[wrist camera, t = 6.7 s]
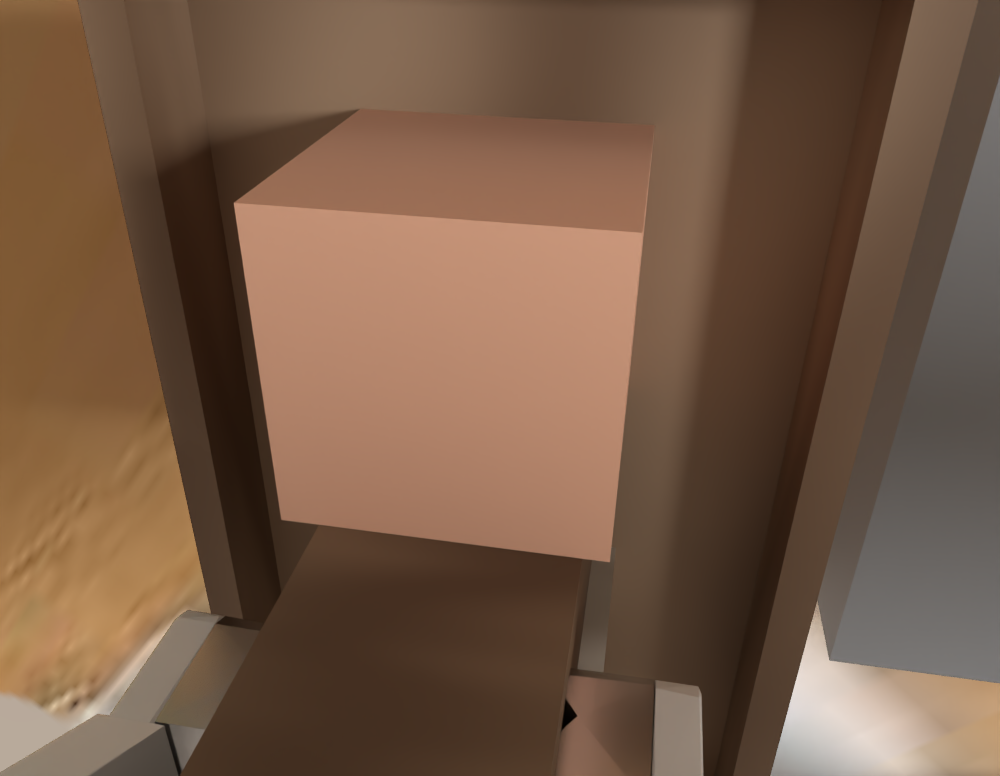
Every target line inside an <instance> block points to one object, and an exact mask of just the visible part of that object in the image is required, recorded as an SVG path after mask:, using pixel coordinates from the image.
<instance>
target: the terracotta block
mask: <svg viewBox="0 0 1000 776" xmlns="http://www.w3.org/2000/svg"><path fill="white" fill-rule="evenodd" d="M654 126H655V125H644V124H626V123H608V122H590V121H572V120H554V119H535V118H517V117H499V116H481V115H463V114H445V113H427V112H409V111H391V110H373V109H360V110H358V111H357V112H356V113H354V114H353V115H352V116H350V117H349V118H348V119H346V120H345V121H343V122H342V123H341V124H339V125H338V126H337V127H335V128H334V129H333V130H331V131H330V132H329V133H327V134H326V135H325V136H323V137H322V138H321V139H319V140H318V141H316V142H315V143H314V144H312V145H311V146H310V147H308V148H307V149H306V150H304V151H303V152H302V153H300V154H299V155H298V156H296V157H295V158H294V159H292V160H291V161H289V162H288V163H287V164H285V165H284V166H283V167H281V168H280V169H279V170H277V171H276V172H275V173H273V174H272V175H271V176H269V177H268V178H267V179H265V180H264V181H263V182H261V183H260V184H258V185H257V186H256V187H254V188H253V189H252V190H250V191H249V192H248V193H246V194H245V195H244V196H242V197H241V198H240V199H238V200H237V201H236V202H234V208H235V215H236V222H237V228H238V235H239V242H240V248H241V255H242V261H243V268H244V275H245V281H246V288H247V295H248V301H249V308H250V315H251V321H252V328H253V335H254V341H255V348H256V355H257V361H258V368H259V375H260V381H261V388H262V395H263V401H264V408H265V415H266V421H267V428H268V434H269V441H270V448H271V454H272V461H273V468H274V474H275V481H276V488H277V494H278V501H279V508H280V514H281V520H287V521H294V522H302V523H310V524H318V525H325V526H333V527H341V528H349V529H356V530H364V531H372V532H380V533H387V534H395V535H403V536H411V537H418V538H426V539H434V540H441V541H449V542H457V543H465V544H472V545H480V546H488V547H496V548H503V549H511V550H519V551H527V552H534V553H542V554H550V555H558V556H565V557H573V558H581V559H589V560H596V561H604V562H610V555H611V546H612V537H613V527H614V518H615V508H616V499H617V490H618V480H619V471H620V461H621V452H622V442H623V433H624V424H625V414H626V405H627V395H628V386H629V376H630V366H631V356H632V346H633V336H634V326H635V316H636V306H637V296H638V286H639V276H640V266H641V256H642V246H643V236H644V226H645V216H646V206H647V196H648V186H649V176H650V166H651V156H652V146H653V136H654Z"/></svg>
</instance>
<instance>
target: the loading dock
mask: <svg viewBox="0 0 1000 776" xmlns="http://www.w3.org/2000/svg"><path fill="white" fill-rule="evenodd" d="M817 600H818V605H819V610H820V615H821V620H822V625H823V630H824V635H825V640H826V645H827V650H828V655H829V660H830V661H838V662H845V663H853V664H860V665H867V666H875V667H882V668H890V669H897V670H905V671H912V672H920V673H927V674H935V675H942V676H949V677H957V678H964V679H972V680H979V681H987V682H994V683H1000V0H978V4H977V7H976V11H975V15H974V19H973V22H972V26H971V30H970V34H969V37H968V41H967V45H966V48H965V52H964V56H963V60H962V63H961V67H960V71H959V74H958V78H957V82H956V86H955V89H954V93H953V97H952V101H951V104H950V108H949V112H948V115H947V119H946V123H945V127H944V130H943V134H942V138H941V141H940V145H939V149H938V153H937V156H936V160H935V164H934V168H933V171H932V175H931V179H930V182H929V186H928V190H927V194H926V197H925V201H924V205H923V208H922V212H921V216H920V220H919V223H918V227H917V231H916V235H915V238H914V242H913V246H912V249H911V253H910V257H909V261H908V264H907V268H906V272H905V275H904V279H903V283H902V287H901V290H900V294H899V298H898V302H897V305H896V309H895V313H894V316H893V320H892V324H891V328H890V331H889V335H888V339H887V342H886V346H885V350H884V354H883V357H882V361H881V365H880V368H879V372H878V376H877V380H876V383H875V387H874V391H873V395H872V398H871V402H870V406H869V409H868V413H867V417H866V421H865V424H864V428H863V432H862V435H861V439H860V443H859V447H858V450H857V454H856V458H855V462H854V465H853V469H852V473H851V476H850V480H849V484H848V488H847V491H846V495H845V499H844V502H843V506H842V510H841V514H840V517H839V521H838V525H837V529H836V532H835V536H834V540H833V543H832V547H831V551H830V555H829V558H828V562H827V566H826V569H825V573H824V577H823V581H822V584H821V588H820V592H819V596H818V599H817Z"/></svg>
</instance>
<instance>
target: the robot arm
mask: <svg viewBox="0 0 1000 776" xmlns="http://www.w3.org/2000/svg"><path fill="white" fill-rule="evenodd" d="M263 625H264V623H263V622H257V621H251V620H246V619H240V618H234V617H229V616H221V615H215V614H209V613H203V612H197V611H191V610H187V611H186V612H184V613H183V614H181V615H180V616H179V617H177V618H176V619H175V620H174V622H173V623H172V625H171V626H170V628H169V629H168V630H167V632H166V633H165V635H164V636H163V638H162V639H161V641H160V642H159V644H158V645H157V647H156V648H155V649H154V651H153V652H152V654H151V655H150V657H149V658H148V660H147V661H146V663H145V664H144V666H143V667H142V668H141V670H140V671H139V673H138V674H137V676H136V677H135V679H134V680H133V682H132V683H131V685H130V686H129V687H128V689H127V690H126V692H125V693H124V695H123V696H122V698H121V699H120V701H119V702H118V704H117V705H116V706H115V708H114V709H113V711H112V712H111V714H110V715H109V716H108V715H101V714H97V715H95V716H94V717H92V718H90V719H89V720H87V721H85V722H84V723H82V724H80V725H79V726H77V727H75V728H74V729H72V730H70V731H69V732H67V733H65V734H64V735H62V736H60V737H59V738H57V739H55V740H54V741H52V742H50V743H49V744H47V745H45V746H44V747H42V748H40V749H39V750H37V751H35V752H34V753H32V754H30V755H29V756H27V757H25V758H24V759H22V760H20V761H19V762H17V763H15V764H14V765H12V766H10V767H8V768H7V769H5V770H4V771H2V772H0V776H180V774H181V773H182V771H183V769H184V767H185V765H186V764H187V762H188V760H189V758H190V756H191V755H192V753H193V751H194V749H195V747H196V746H197V744H198V742H199V740H200V738H201V737H202V735H203V733H204V731H205V729H206V728H207V726H208V724H209V722H210V720H211V719H212V717H213V715H214V713H215V711H216V710H217V708H218V706H219V704H220V702H221V701H222V699H223V697H224V695H225V693H226V692H227V690H228V688H229V686H230V684H231V683H232V681H233V679H234V677H235V675H236V674H237V672H238V670H239V668H240V666H241V665H242V663H243V661H244V659H245V657H246V656H247V654H248V652H249V650H250V648H251V647H252V645H253V643H254V641H255V639H256V638H257V636H258V634H259V632H260V630H261V629H262V627H263ZM554 776H703V737H702V695H701V692H700V690H699V687H698V686H692V685H685V684H679V683H672V682H665V681H658V680H655V682H654V681H653V679H648V678H641V677H633V676H626V675H619V674H611V673H604V672H596V671H589V670H582V669H574V668H570V672H569V677H568V684H567V691H566V698H565V712H564V725H563V730H562V731H561V733H560V740H559V747H558V754H557V761H556V768H555V775H554Z"/></svg>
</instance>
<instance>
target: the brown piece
mask: <svg viewBox="0 0 1000 776" xmlns="http://www.w3.org/2000/svg"><path fill="white" fill-rule="evenodd" d="M78 4H79V9H80V13H81V18H82V23H83V27H84V32H85V36H86V41H87V45H88V50H89V55H90V59H91V64H92V68H93V73H94V78H95V82H96V87H97V91H98V96H99V101H100V105H101V110H102V114H103V119H104V124H105V128H106V133H107V137H108V142H109V146H110V151H111V156H112V160H113V165H114V169H115V174H116V179H117V183H118V188H119V192H120V197H121V202H122V206H123V211H124V215H125V220H126V224H127V229H128V234H129V238H130V243H131V247H132V252H133V257H134V261H135V266H136V270H137V275H138V280H139V284H140V289H141V293H142V298H143V303H144V307H145V312H146V316H147V321H148V325H149V330H150V335H151V339H152V344H153V348H154V353H155V358H156V362H157V367H158V371H159V376H160V381H161V385H162V390H163V394H164V399H165V404H166V408H167V413H168V417H169V422H170V426H171V431H172V436H173V440H174V445H175V449H176V454H177V459H178V463H179V468H180V472H181V477H182V482H183V486H184V491H185V495H186V500H187V504H188V509H189V514H190V518H191V523H192V527H193V532H194V537H195V541H196V546H197V550H198V555H199V560H200V564H201V569H202V573H203V578H204V583H205V587H206V592H207V596H208V601H209V605H210V610H211V614H215V615H221V616H229V617H234V618H240V619H246V620H251V621H257V622H263V623H264V625H263V627H262V629H261V630H260V632H259V634H258V636H257V638H256V639H255V641H254V643H253V645H252V647H251V648H250V650H249V652H248V654H247V656H246V657H245V659H244V661H243V663H242V665H241V666H240V668H239V670H238V672H237V674H236V675H235V677H234V679H233V681H232V683H231V684H230V686H229V688H228V690H227V692H226V693H225V695H224V697H223V699H222V701H221V702H220V704H219V706H218V708H217V710H216V711H215V713H214V715H213V717H212V719H211V720H210V722H209V724H208V726H207V728H206V729H205V731H204V733H203V735H202V737H201V738H200V740H199V742H198V744H197V746H196V747H195V749H194V751H193V753H192V755H191V756H190V758H189V760H188V762H187V764H186V765H185V767H184V769H183V771H182V773H181V774H180V776H554V775H555V768H556V761H557V754H558V747H559V740H560V733H561V731H562V730H563V725H564V712H565V698H566V691H567V684H568V677H569V672H570V668H574V669H578V661H579V654H580V646H581V639H582V631H583V623H584V616H585V608H586V601H587V593H588V586H589V578H590V571H591V563H592V560H589V559H581V558H573V557H565V556H558V555H550V554H542V553H534V552H527V551H519V550H511V549H503V548H496V547H488V546H480V545H472V544H465V543H457V542H449V541H441V540H434V539H426V538H418V537H411V536H403V535H395V534H387V533H380V532H372V531H364V530H356V529H349V528H341V527H333V526H325V525H318V524H310V523H302V522H294V521H287V520H281V514H280V508H279V501H278V494H277V488H276V481H275V474H274V468H273V461H272V454H271V448H270V441H269V434H268V428H267V421H266V415H265V408H264V401H263V395H262V388H261V381H260V375H259V368H258V361H257V355H256V348H255V341H254V335H253V328H252V321H251V315H250V308H249V301H248V295H247V288H246V281H245V275H244V268H243V261H242V255H241V248H240V242H239V235H238V228H237V222H236V215H235V208H234V202H236V201H237V200H238V199H240V198H241V197H242V196H244V195H245V194H246V193H248V192H249V191H250V190H252V189H253V188H254V187H256V186H257V185H258V184H260V183H261V182H263V181H264V180H265V179H267V178H268V177H269V176H271V175H272V174H273V173H275V172H276V171H277V170H279V169H280V168H281V167H283V166H284V165H285V164H287V163H288V162H289V161H291V160H292V159H294V158H295V157H296V156H298V155H299V154H300V153H302V152H303V151H304V150H306V149H307V148H308V147H310V146H311V145H312V144H314V143H315V142H316V141H318V140H319V139H321V138H322V137H323V136H325V135H326V134H327V133H329V132H330V131H331V130H333V129H334V128H335V127H337V126H338V125H339V124H341V123H342V122H343V121H345V120H346V119H348V118H349V117H350V116H352V115H353V114H354V113H356V112H357V111H358V110H360V109H373V110H391V111H409V112H427V113H445V114H463V115H481V116H499V117H517V118H535V119H554V120H572V121H590V122H608V123H626V124H644V125H655V126H654V136H653V146H652V156H651V166H650V176H649V186H648V196H647V206H646V216H645V226H644V236H643V246H642V256H641V266H640V276H639V286H638V296H637V306H636V316H635V326H634V336H633V346H632V356H631V366H630V376H629V386H628V395H627V405H626V414H625V424H624V433H623V442H622V452H621V461H620V471H619V480H618V490H617V499H616V508H615V518H614V527H613V537H612V546H611V547H613V548H616V552H615V562H614V572H613V582H612V592H611V602H610V612H609V622H608V632H607V642H606V652H605V662H604V673H611V674H619V675H626V676H633V677H641V678H648V679H653V681H654V682H655V680H658V681H665V682H672V683H679V684H685V685H692V686H698V687H699V690H700V692H701V695H702V737H703V776H770V774H771V770H772V767H773V763H774V759H775V756H776V752H777V748H778V744H779V741H780V737H781V733H782V729H783V726H784V722H785V718H786V715H787V711H788V707H789V703H790V700H791V696H792V692H793V689H794V685H795V681H796V677H797V674H798V670H799V666H800V662H801V659H802V655H803V651H804V648H805V644H806V640H807V636H808V633H809V629H810V625H811V622H812V618H813V614H814V610H815V607H816V603H817V599H818V596H819V592H820V588H821V584H822V581H823V577H824V573H825V569H826V566H827V562H828V558H829V555H830V551H831V547H832V543H833V540H834V536H835V532H836V529H837V525H838V521H839V517H840V514H841V510H842V506H843V502H844V499H845V495H846V491H847V488H848V484H849V480H850V476H851V473H852V469H853V465H854V462H855V458H856V454H857V450H858V447H859V443H860V439H861V435H862V432H863V428H864V424H865V421H866V417H867V413H868V409H869V406H870V402H871V398H872V395H873V391H874V387H875V383H876V380H877V376H878V372H879V368H880V365H881V361H882V357H883V354H884V350H885V346H886V342H887V339H888V335H889V331H890V328H891V324H892V320H893V316H894V313H895V309H896V305H897V302H898V298H899V294H900V290H901V287H902V283H903V279H904V275H905V272H906V268H907V264H908V261H909V257H910V253H911V249H912V246H913V242H914V238H915V235H916V231H917V227H918V223H919V220H920V216H921V212H922V208H923V205H924V201H925V197H926V194H927V190H928V186H929V182H930V179H931V175H932V171H933V168H934V164H935V160H936V156H937V153H938V149H939V145H940V141H941V138H942V134H943V130H944V127H945V123H946V119H947V115H948V112H949V108H950V104H951V101H952V97H953V93H954V89H955V86H956V82H957V78H958V74H959V71H960V67H961V63H962V60H963V56H964V52H965V48H966V45H967V41H968V37H969V34H970V30H971V26H972V22H973V19H974V15H975V11H976V7H977V4H978V0H78Z"/></svg>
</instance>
